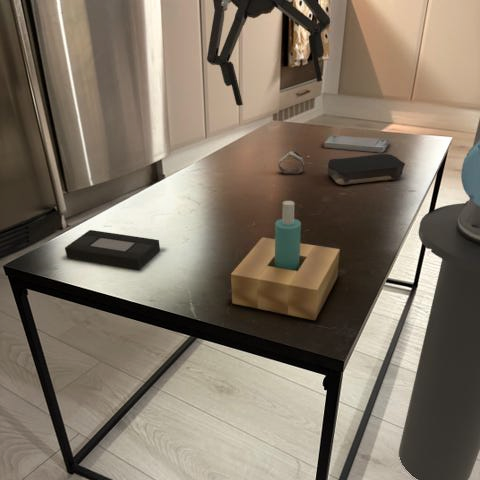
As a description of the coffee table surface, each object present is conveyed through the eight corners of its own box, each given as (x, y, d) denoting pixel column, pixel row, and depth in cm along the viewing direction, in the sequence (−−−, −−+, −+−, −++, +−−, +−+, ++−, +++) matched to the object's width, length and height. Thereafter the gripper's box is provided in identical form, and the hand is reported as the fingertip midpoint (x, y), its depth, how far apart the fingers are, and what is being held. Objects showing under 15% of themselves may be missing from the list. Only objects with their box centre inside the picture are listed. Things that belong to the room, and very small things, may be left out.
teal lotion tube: (292, 282, 78) (295, 196, 70) (301, 293, 76) (306, 205, 68) (271, 286, 78) (271, 199, 70) (279, 298, 75) (281, 209, 67)
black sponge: (388, 168, 121) (390, 153, 118) (404, 180, 114) (407, 163, 112) (323, 175, 118) (324, 159, 116) (336, 187, 111) (337, 171, 109)
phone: (383, 153, 130) (384, 148, 130) (323, 147, 136) (323, 142, 135) (388, 144, 137) (389, 139, 136) (330, 139, 142) (331, 134, 141)
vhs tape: (92, 239, 93) (89, 229, 92) (160, 250, 89) (159, 239, 88) (67, 258, 87) (64, 247, 86) (139, 270, 83) (137, 259, 82)
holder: (337, 277, 79) (339, 249, 76) (315, 320, 70) (317, 289, 67) (262, 264, 83) (262, 237, 81) (232, 303, 74) (230, 273, 71)
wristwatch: (304, 174, 119) (305, 153, 116) (278, 175, 119) (279, 154, 116) (302, 169, 122) (303, 148, 119) (277, 170, 122) (277, 150, 119)
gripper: (326, -72, 78) (353, 73, 84) (178, -17, 84) (212, 115, 89) (327, -94, 71) (356, 65, 77) (165, -33, 77) (203, 112, 82)
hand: (279, 93), depth 83 cm, fingers open, 13 cm apart
